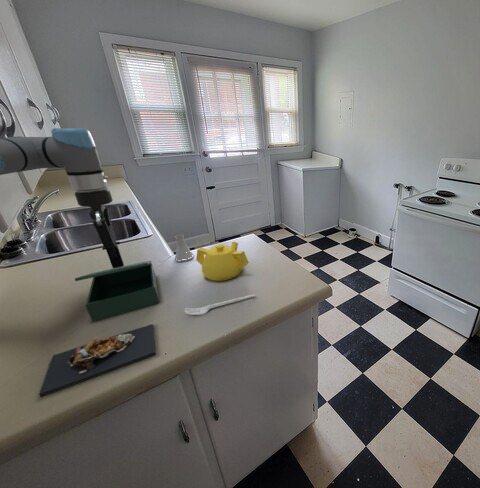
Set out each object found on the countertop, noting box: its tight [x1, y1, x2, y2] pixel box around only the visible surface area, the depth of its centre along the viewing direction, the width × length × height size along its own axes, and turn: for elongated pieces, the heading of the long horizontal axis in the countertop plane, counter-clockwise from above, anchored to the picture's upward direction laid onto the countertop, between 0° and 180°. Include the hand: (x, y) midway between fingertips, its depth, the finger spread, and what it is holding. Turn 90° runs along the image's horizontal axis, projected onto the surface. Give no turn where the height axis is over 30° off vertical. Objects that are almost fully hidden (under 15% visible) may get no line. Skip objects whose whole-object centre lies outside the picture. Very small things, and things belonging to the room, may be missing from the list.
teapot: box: [195, 241, 249, 282], centre depth 99 cm, size 20×18×11 cm
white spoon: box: [183, 293, 256, 316], centre depth 81 cm, size 3×20×2 cm, turn 118°
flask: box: [174, 234, 195, 263], centre depth 109 cm, size 7×7×10 cm
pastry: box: [68, 334, 135, 375], centre depth 63 cm, size 7×12×4 cm, turn 153°
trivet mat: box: [38, 323, 157, 397], centre depth 63 cm, size 20×12×1 cm, turn 123°
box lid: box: [74, 260, 153, 282], centre depth 83 cm, size 20×16×1 cm
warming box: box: [85, 263, 160, 322], centre depth 85 cm, size 19×16×6 cm
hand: (118, 266), depth 83 cm, fingers closed
